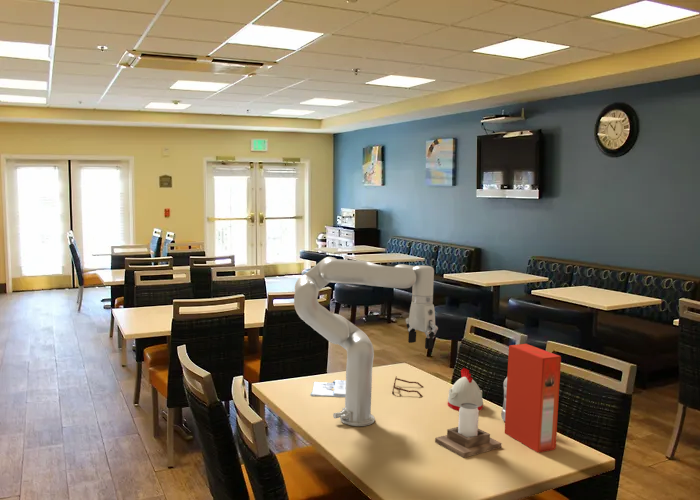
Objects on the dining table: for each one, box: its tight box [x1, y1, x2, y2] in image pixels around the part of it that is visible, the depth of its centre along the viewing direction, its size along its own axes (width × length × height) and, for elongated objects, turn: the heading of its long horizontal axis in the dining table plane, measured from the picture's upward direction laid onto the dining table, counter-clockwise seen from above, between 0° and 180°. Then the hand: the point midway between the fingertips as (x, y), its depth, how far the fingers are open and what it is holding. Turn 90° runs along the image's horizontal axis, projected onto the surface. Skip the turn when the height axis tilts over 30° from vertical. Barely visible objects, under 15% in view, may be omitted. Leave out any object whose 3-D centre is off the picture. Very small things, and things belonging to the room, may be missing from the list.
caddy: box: [434, 426, 502, 458], centre depth 207 cm, size 17×14×4 cm
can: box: [457, 403, 480, 438], centre depth 207 cm, size 6×6×12 cm
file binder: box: [504, 343, 562, 453], centre depth 211 cm, size 8×17×32 cm, turn 23°
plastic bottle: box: [501, 376, 507, 422], centre depth 229 cm, size 6×7×20 cm
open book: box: [310, 379, 346, 398], centre depth 261 cm, size 19×20×2 cm
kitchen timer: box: [447, 367, 484, 412], centre depth 245 cm, size 14×14×15 cm
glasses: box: [391, 375, 424, 398], centre depth 262 cm, size 13×13×5 cm
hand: (420, 345), depth 226 cm, fingers open, 9 cm apart
